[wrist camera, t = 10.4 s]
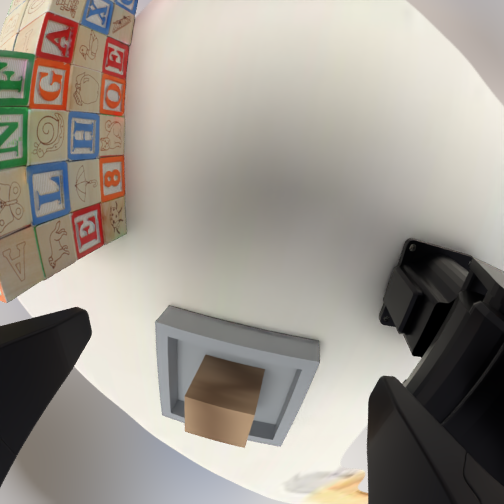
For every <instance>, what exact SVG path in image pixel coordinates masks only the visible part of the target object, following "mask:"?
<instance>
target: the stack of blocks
mask: <svg viewBox="0 0 504 504" xmlns="http://www.w3.org/2000/svg"><path fill="white" fill-rule="evenodd" d="M137 3H138V0H13V1H12V4H11V6H10V9H9V12H8V16H7V17H6V19H5V22H4V25H3V28H2V32H1V35H0V301H2V302H5V303H8V302H10V301H11V300H13V299H14V298H16V297H17V296H19V295H21V294H22V293H23V292H25V291H27V290H28V289H30V288H31V287H33V286H34V285H36V284H37V283H39V282H41V281H42V280H46V279H48V278H50V277H51V276H53V275H54V274H55V273H58V272H59V271H61V270H62V269H64V268H66V267H68V266H70V265H71V264H73V263H74V262H76V260H79V259H80V258H82V257H84V256H86V255H87V254H89V253H91V252H93V251H94V250H96V249H98V248H100V247H101V246H103V245H105V244H108V243H110V242H112V241H114V240H116V239H118V238H119V237H121V236H123V235H125V234H127V228H126V216H125V199H124V196H125V177H124V134H125V118H124V99H125V85H126V81H125V78H126V69H127V59H128V52H129V45H130V44H131V37H132V30H133V24H134V19H135V13H136V7H137Z"/></svg>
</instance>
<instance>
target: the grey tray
mask: <svg viewBox="0 0 504 504" xmlns="http://www.w3.org/2000/svg"><path fill="white" fill-rule="evenodd" d="M155 326H156V350H157V366H158V379H159V391H160V401H161V410H162V415H163V416H166V417H169V418H171V419H174V420H177V421H180V422H183V423H185V394H186V392H187V390H188V388H189V386H190V384H191V382H192V380H193V378H194V377H195V375H196V373H197V371H198V369H199V367H200V365H201V363H202V361H203V359H204V357H205V355H210V356H213V357H217V358H221V359H225V360H228V361H232V362H236V363H240V364H245V365H249V366H253V367H258V368H262V369H265V372H264V376H263V381H262V385H261V390H260V394H259V399H258V403H257V408H256V412H255V416H254V419H253V423H252V426H251V429H250V432H249V435H248V438H247V440H249V441H254V442H259V443H264V444H269V445H275V446H281V445H282V443H283V441H284V439H285V437H286V435H287V433H288V431H289V429H290V427H291V425H292V423H293V421H294V419H295V417H296V415H297V413H298V411H299V409H300V406H301V404H302V402H303V400H304V398H305V395H306V393H307V391H308V389H309V386H310V384H311V382H312V379H313V377H314V375H315V372H316V370H317V368H318V365H319V363H320V353H319V341H316V340H311V339H305V338H300V337H295V336H290V335H285V334H281V333H276V332H271V331H267V330H262V329H258V328H253V327H249V326H245V325H240V324H236V323H232V322H228V321H224V320H220V319H216V318H212V317H209V316H205V315H201V314H197V313H194V312H190V311H186V310H183V309H179V308H176V307H172V306H168V308H167V309H166V310H165V311H164V312H163V313H162V315H161V316H160V317H159V318H158V319H157V320H156V322H155Z"/></svg>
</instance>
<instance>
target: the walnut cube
mask: <svg viewBox="0 0 504 504" xmlns="http://www.w3.org/2000/svg"><path fill="white" fill-rule="evenodd" d="M264 372H265V369H262V368H258V367H253V366H249V365H245V364H240V363H236V362H232V361H228V360H225V359H221V358H217V357H213V356H210V355H205V357H204V359H203V361H202V363H201V365H200V367H199V369H198V371H197V373H196V375H195V377H194V378H193V380H192V382H191V384H190V386H189V388H188V390H187V392H186V394H185V432H188V433H191V434H195V435H198V436H201V437H205V438H208V439H212V440H215V441H219V442H223V443H227V444H231V445H235V446H239V447H244V448H245V445H246V442H247V438H248V435H249V432H250V429H251V426H252V423H253V419H254V416H255V412H256V408H257V403H258V399H259V394H260V390H261V385H262V381H263V376H264Z"/></svg>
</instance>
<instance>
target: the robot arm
mask: <svg viewBox="0 0 504 504" xmlns="http://www.w3.org/2000/svg"><path fill="white" fill-rule="evenodd" d="M411 244H414V247H413V249H409V248H410V245H411ZM470 261H471V263H470V264H469V262H470ZM383 301H384V305H383V308H382V310H381V313H380V315H379V320H380V322H381V324H383V325H388V326H394V327H396V328H397V331H398V333H399V334H403V335H404V337H405V340H406V342H407V344H408V346H409V348H410V351H411V353H412V355H413V356H418V357H421V360H420V361H419V363H418V364H417V366H416V367H415V369H414V370H413V372H412V373H411V375H410V376H409V377H408V379H407V380H405V381H404V382H403V384H401V383H400V382H399V380H398V379H397V378H395V377H393V376H382V377H380V378H379V380H378V382H377V384H376V386H375V387H374V389H373V391H372V393H371V395H370V397H369V402H368V434H367V460H368V504H504V271H501V270H499V269H497V268H495V267H493V266H491V265H489V264H487V263H485V262H482V261H480V260H478V259H476V258H474V257H472V256H470V255H467V254H464V253H461V252H457V251H454V250H451V249H447V248H444V247H440V246H437V245H433V244H430V243H426V242H423V241H419V240H416V239H408V240H407V241H406V242H405V245H404V248H403V251H402V254H401V257H400V261H399V264H398V266H396V267H395V268H394V270H393V273H392V276H391V279H390V282H389V285H388V287H387V290H386V293H385V295H384V298H383ZM386 316H388V318H387V319H384V317H386ZM91 335H92V330H91V325H90V320H89V315H88V313H87V311H86V310H84V309H81V308H79V307H74V308H70V309H66V310H62V311H58V312H54V313H50V314H47V315H43V316H39V317H35V318H31V319H27V320H23V321H19V322H15V323H11V324H7V325H3V326H0V487H1V485H2V483H3V481H4V479H5V477H6V475H7V473H8V471H9V470H10V467H11V466H12V464H13V462H14V460H15V459H16V457H17V456H16V455H18V453H19V451H20V449H21V448H22V446H23V444H24V443H25V441H26V439H27V438H28V436H29V434H30V433H31V431H32V429H33V428H34V426H35V424H36V423H37V421H38V420H39V418H40V417H41V415H42V414H43V412H44V410H45V409H46V407H47V406H48V404H49V403H50V401H51V400H52V398H53V397H54V395H55V394H56V392H57V391H58V389H59V388H60V387H61V385H62V384H63V382H64V381H65V379H66V378H67V376H68V375H69V374H70V372H71V370H72V369H73V367H74V365H75V364H76V362H77V360H78V358H79V357H80V355H81V353H82V351H83V350H84V348H85V346H86V345H87V343H88V341H89V340H90V338H91Z"/></svg>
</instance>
